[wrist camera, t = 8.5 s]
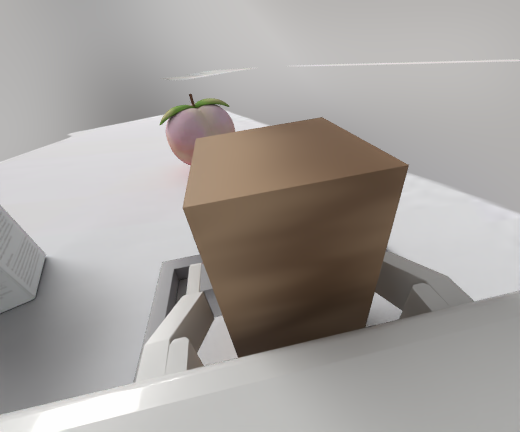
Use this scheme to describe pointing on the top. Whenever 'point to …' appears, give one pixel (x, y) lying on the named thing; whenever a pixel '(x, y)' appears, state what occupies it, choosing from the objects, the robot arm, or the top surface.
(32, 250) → the skincare box
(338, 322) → the walnut block
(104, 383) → the top surface
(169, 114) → the decorative fruit
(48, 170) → the top surface
